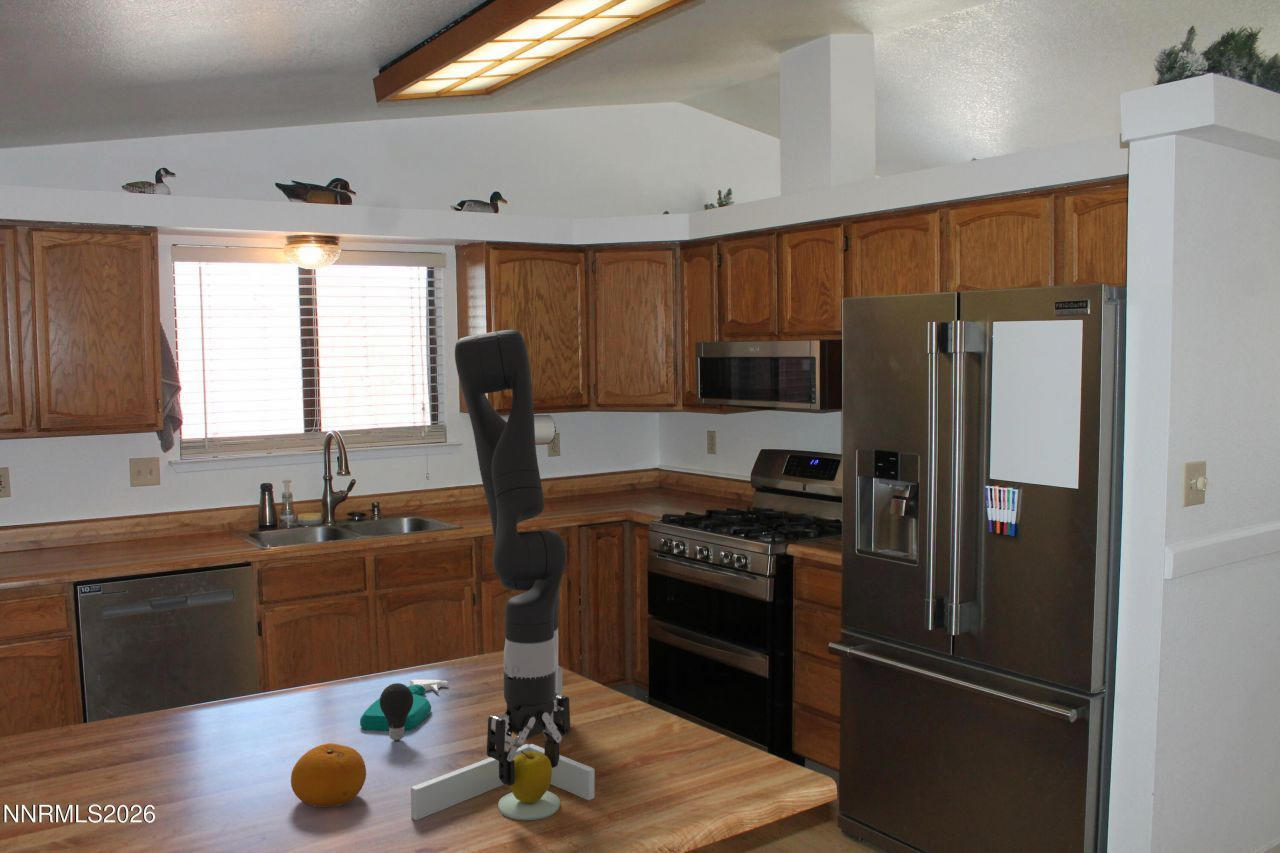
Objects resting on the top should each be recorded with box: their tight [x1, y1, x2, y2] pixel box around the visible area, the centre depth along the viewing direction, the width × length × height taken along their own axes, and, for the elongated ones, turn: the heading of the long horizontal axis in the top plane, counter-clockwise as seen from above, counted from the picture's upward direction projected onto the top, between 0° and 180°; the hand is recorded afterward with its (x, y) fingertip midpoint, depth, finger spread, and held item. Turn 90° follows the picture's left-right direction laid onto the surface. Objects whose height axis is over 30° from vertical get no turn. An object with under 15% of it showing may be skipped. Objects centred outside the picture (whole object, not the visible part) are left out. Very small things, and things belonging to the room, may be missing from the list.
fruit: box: [290, 743, 367, 808], centre depth 151 cm, size 10×10×8 cm
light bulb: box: [379, 682, 413, 743], centre depth 174 cm, size 6×6×10 cm
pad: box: [497, 790, 561, 822], centre depth 150 cm, size 9×9×1 cm
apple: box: [509, 751, 552, 803], centre depth 150 cm, size 6×6×8 cm
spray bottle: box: [359, 679, 449, 733], centre depth 191 cm, size 3×11×24 cm
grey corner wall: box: [410, 743, 596, 821], centre depth 150 cm, size 23×15×4 cm, turn 138°
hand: (529, 774), depth 150 cm, fingers open, 8 cm apart
